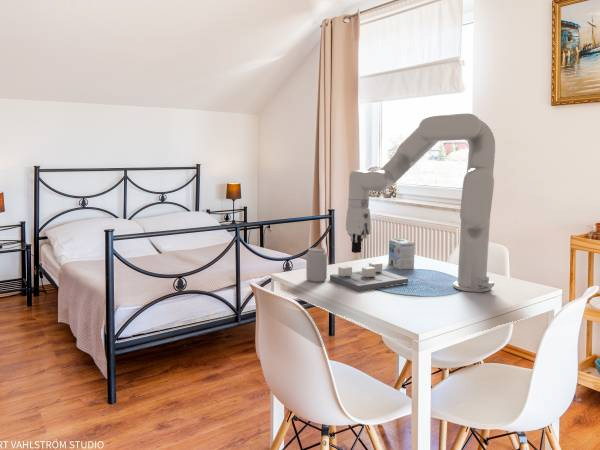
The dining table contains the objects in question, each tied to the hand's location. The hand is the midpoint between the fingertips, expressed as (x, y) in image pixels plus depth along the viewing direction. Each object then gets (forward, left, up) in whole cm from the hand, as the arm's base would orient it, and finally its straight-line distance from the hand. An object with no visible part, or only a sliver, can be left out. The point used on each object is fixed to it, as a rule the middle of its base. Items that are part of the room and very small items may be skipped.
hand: (356, 252), depth 196 cm
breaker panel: (-7, 0, -10) cm, 12 cm away
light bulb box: (+8, -28, -10) cm, 31 cm away
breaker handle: (-7, 0, -8) cm, 11 cm away
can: (+3, +15, -10) cm, 19 cm away
